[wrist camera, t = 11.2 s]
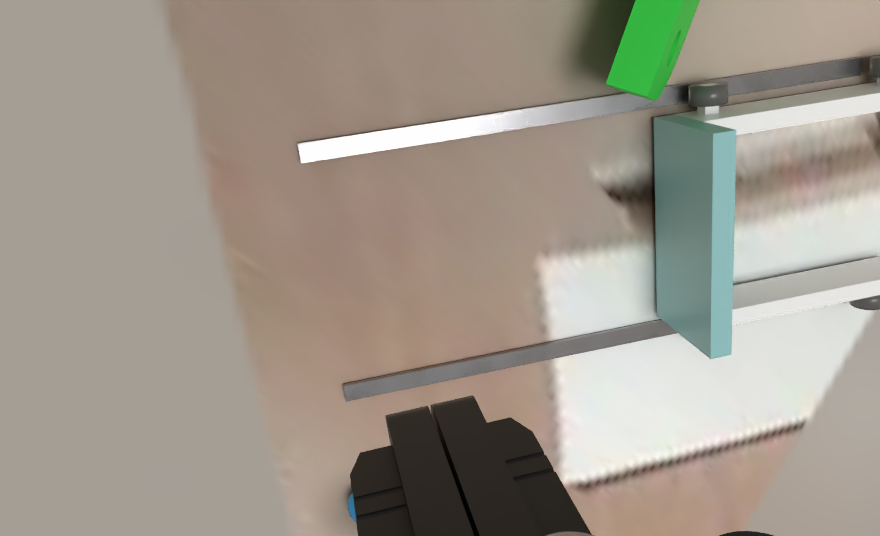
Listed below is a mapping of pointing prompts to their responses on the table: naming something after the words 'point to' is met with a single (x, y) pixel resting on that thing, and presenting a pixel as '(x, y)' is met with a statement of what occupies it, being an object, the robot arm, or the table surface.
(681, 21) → the mechanical part
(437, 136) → the rails
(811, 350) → the table surface
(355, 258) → the table surface
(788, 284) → the cart
